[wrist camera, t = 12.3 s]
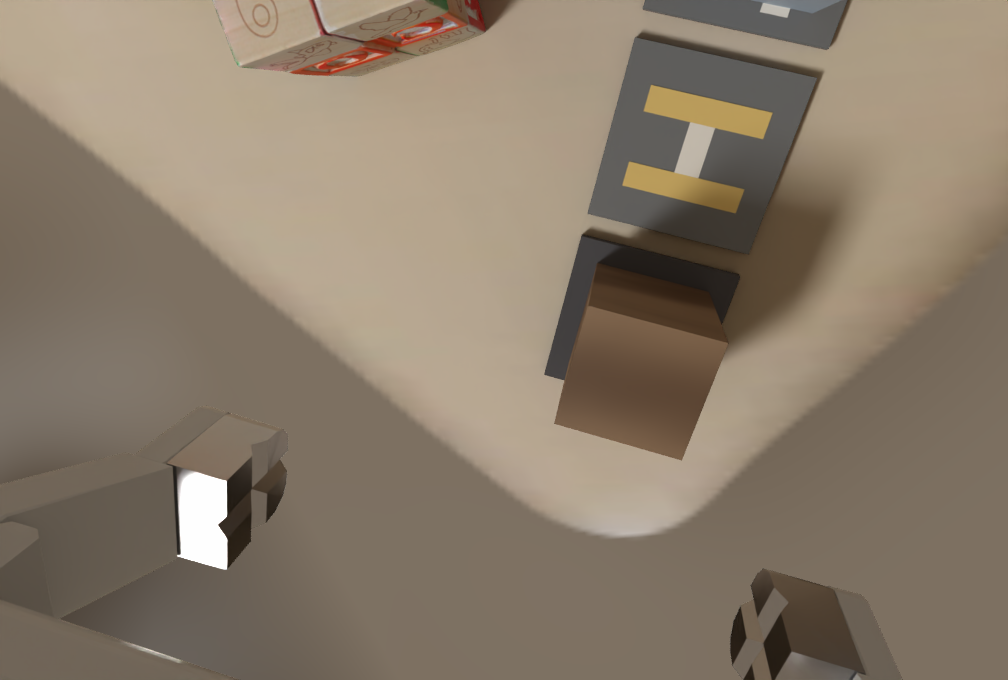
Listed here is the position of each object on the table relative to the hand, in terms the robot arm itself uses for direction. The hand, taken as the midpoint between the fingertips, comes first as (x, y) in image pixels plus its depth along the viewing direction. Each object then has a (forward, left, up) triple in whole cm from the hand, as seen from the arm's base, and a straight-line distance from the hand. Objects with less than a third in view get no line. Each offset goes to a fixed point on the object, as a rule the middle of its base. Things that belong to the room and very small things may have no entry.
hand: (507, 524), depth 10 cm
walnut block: (+3, +3, -18) cm, 19 cm away
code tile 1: (-5, +3, -19) cm, 20 cm away
